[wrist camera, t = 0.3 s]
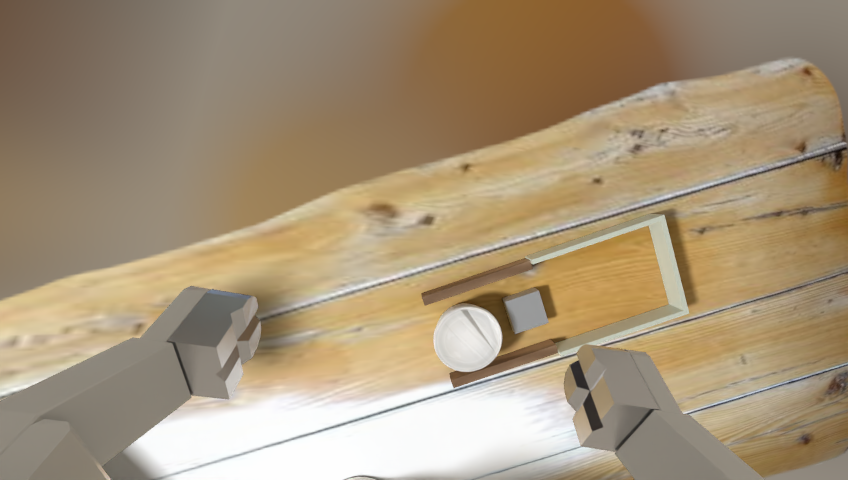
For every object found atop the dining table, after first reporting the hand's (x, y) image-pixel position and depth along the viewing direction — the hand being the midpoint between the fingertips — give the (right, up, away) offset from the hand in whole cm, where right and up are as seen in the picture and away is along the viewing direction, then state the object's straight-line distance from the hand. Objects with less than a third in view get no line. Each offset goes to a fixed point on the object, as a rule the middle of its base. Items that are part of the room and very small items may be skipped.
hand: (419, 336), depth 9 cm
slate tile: (+18, -10, +55) cm, 59 cm away
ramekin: (+7, -13, +55) cm, 57 cm away
